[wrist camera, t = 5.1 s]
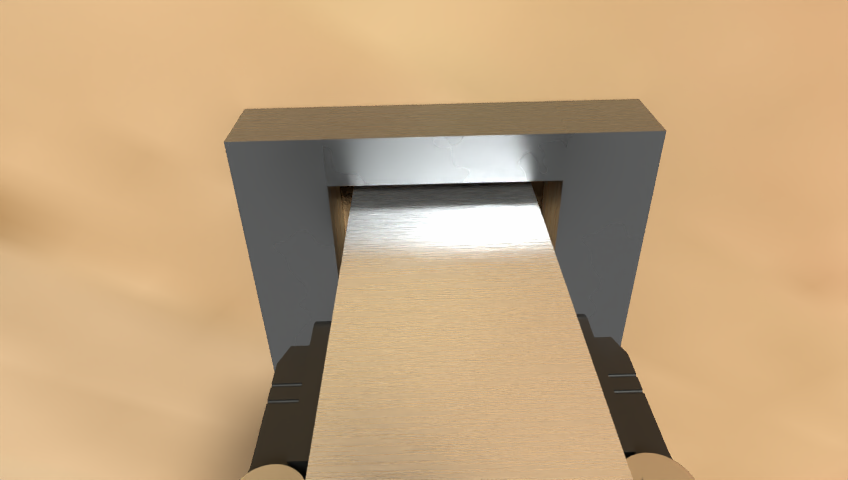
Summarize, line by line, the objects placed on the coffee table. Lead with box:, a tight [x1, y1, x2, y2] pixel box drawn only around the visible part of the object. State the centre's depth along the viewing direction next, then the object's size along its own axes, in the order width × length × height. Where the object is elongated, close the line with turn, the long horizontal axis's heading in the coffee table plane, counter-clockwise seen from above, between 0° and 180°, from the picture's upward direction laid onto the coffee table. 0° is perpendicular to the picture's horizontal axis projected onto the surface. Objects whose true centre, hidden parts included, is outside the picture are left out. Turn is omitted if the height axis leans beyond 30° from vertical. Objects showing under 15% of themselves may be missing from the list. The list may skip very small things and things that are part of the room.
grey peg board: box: [224, 99, 666, 371], centre depth 21 cm, size 24×10×2 cm, turn 1°
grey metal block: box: [306, 181, 633, 480], centre depth 13 cm, size 4×4×9 cm
